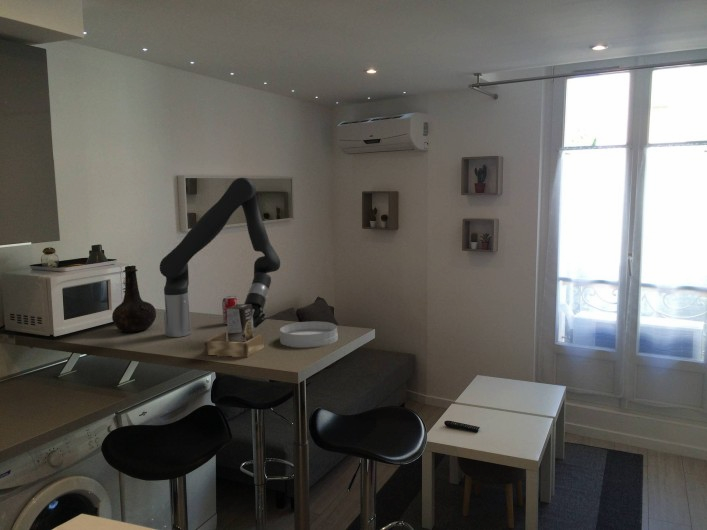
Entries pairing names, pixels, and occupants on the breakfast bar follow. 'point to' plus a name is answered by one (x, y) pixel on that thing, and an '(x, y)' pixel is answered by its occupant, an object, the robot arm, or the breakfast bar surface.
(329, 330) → the dish
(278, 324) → the breakfast bar surface
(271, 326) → the breakfast bar surface
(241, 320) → the coffee box
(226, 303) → the soda can
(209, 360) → the breakfast bar surface
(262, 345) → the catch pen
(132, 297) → the glass bottle
